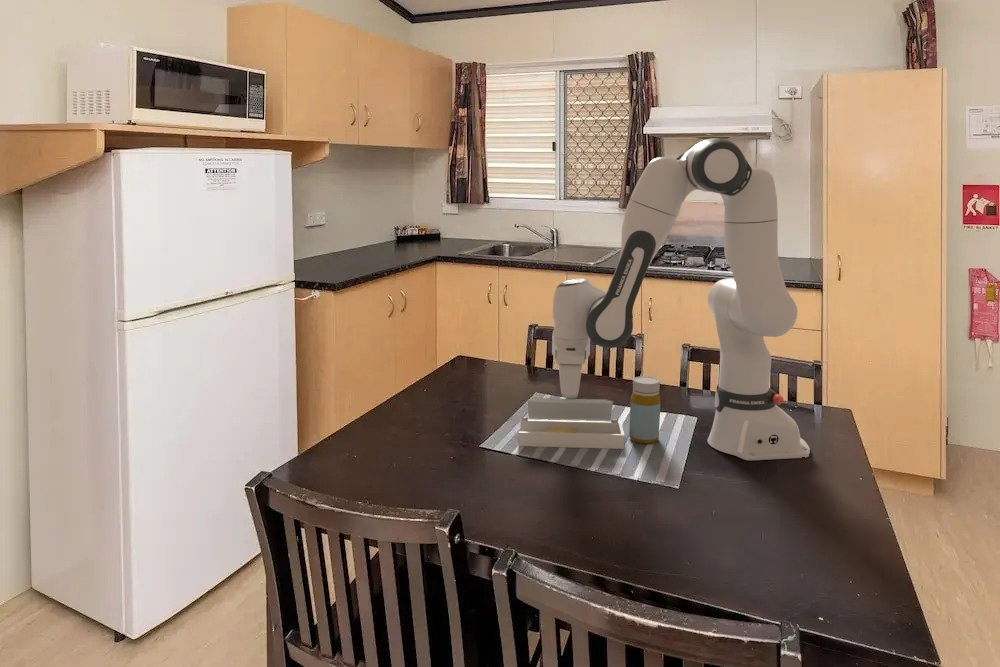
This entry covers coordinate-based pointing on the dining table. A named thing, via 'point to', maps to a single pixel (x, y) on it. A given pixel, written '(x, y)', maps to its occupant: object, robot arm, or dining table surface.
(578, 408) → the cover
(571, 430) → the yellow cylinder
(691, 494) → the dining table surface
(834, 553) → the dining table surface
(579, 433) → the white long shallow tray
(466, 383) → the dining table surface
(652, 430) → the bottle
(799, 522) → the dining table surface
